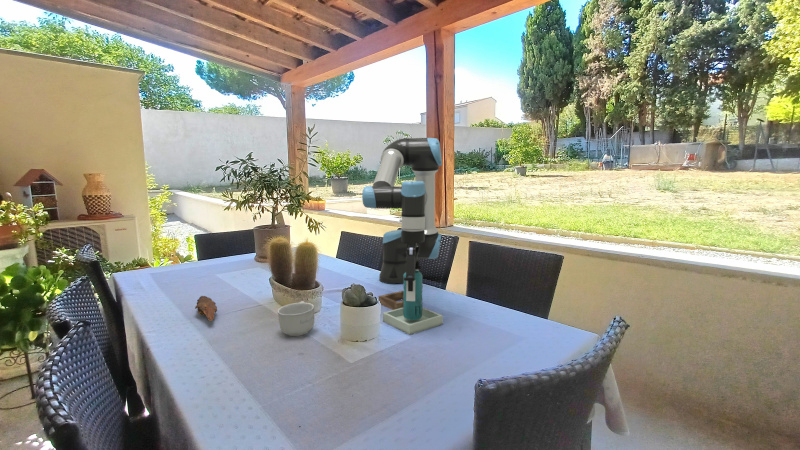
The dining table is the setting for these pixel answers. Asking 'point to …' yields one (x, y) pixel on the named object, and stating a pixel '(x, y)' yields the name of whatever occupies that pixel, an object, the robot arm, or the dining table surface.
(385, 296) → the socket block
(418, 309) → the beverage bottle
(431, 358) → the dining table surface
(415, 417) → the dining table surface
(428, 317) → the tray
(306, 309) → the teacup
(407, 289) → the robot arm
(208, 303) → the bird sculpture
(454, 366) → the dining table surface
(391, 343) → the dining table surface
